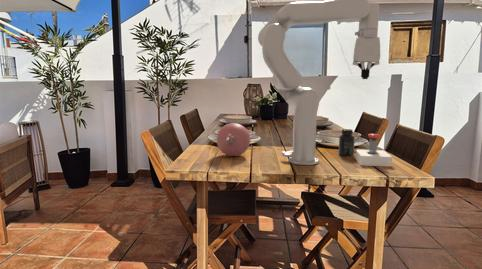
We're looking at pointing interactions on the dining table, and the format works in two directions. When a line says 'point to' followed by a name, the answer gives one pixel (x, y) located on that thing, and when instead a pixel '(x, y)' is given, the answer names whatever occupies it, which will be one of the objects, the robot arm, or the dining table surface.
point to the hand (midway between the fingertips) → (364, 79)
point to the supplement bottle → (346, 143)
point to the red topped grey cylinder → (373, 143)
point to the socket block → (373, 158)
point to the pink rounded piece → (233, 139)
